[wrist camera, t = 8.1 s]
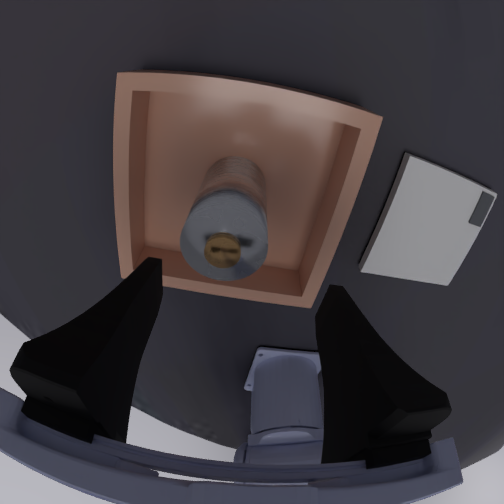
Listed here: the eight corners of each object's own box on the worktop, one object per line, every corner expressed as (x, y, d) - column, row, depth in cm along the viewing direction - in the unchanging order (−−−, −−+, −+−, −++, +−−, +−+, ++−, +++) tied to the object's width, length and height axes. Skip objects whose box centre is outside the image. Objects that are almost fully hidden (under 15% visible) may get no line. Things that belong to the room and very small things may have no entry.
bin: (305, 277, 24) (310, 308, 21) (136, 249, 23) (121, 277, 20) (362, 106, 16) (382, 117, 13) (141, 69, 15) (117, 72, 12)
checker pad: (444, 280, 24) (448, 286, 24) (358, 265, 23) (361, 273, 23) (492, 190, 19) (498, 195, 18) (405, 151, 18) (411, 156, 17)
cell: (259, 216, 20) (258, 293, 14) (201, 207, 20) (176, 280, 14) (271, 162, 18) (277, 222, 12) (207, 151, 18) (179, 206, 12)
